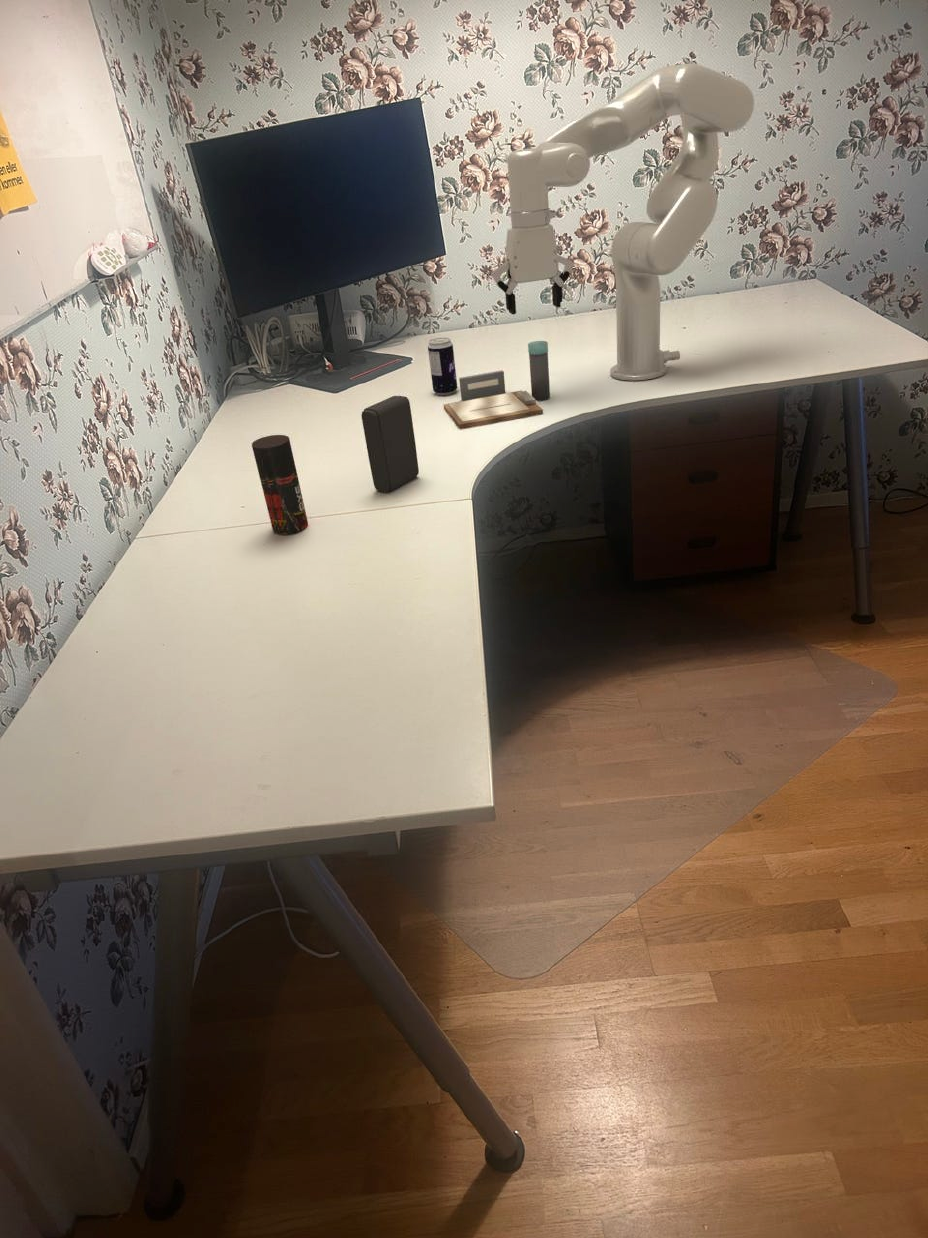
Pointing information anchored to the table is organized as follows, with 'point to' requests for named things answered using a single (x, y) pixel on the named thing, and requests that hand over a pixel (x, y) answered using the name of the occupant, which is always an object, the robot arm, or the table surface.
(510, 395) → the clipboard
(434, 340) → the beverage can
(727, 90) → the robot arm
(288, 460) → the deodorant
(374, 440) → the dark grey rounded block
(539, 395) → the marker
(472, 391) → the bar
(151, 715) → the table surface
